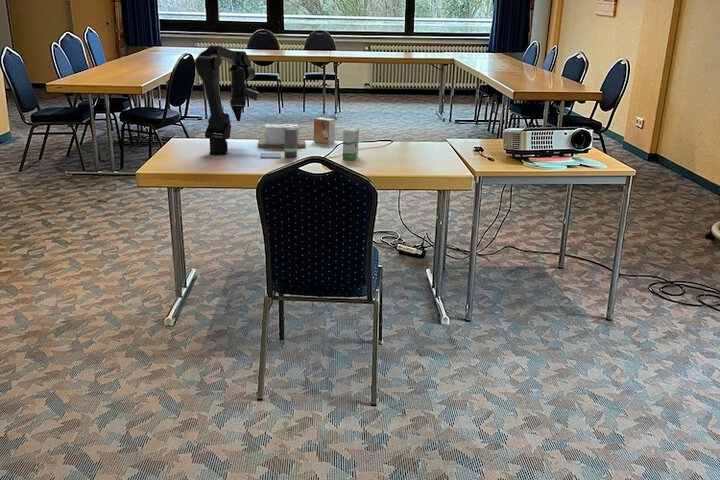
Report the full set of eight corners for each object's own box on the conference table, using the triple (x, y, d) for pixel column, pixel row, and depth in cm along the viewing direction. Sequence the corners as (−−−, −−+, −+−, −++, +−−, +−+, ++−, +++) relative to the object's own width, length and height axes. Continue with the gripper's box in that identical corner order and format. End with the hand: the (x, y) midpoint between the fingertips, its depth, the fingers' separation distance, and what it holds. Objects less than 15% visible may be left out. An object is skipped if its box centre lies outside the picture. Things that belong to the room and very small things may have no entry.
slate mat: (260, 158, 274) (260, 156, 274) (260, 154, 280) (260, 153, 280) (280, 158, 275) (280, 156, 275) (280, 154, 282) (280, 153, 281)
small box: (313, 142, 308) (313, 118, 305) (319, 140, 313) (320, 116, 310) (328, 144, 305) (329, 120, 302) (335, 142, 310) (335, 118, 306)
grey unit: (258, 147, 293) (258, 127, 290) (258, 142, 302) (258, 123, 300) (305, 147, 296) (305, 128, 293) (304, 143, 305) (304, 124, 302)
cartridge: (284, 157, 276) (284, 130, 272) (284, 155, 281) (284, 128, 277) (297, 157, 277) (297, 130, 273) (296, 155, 282) (296, 128, 278)
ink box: (354, 160, 276) (355, 131, 272) (342, 159, 277) (342, 130, 273) (358, 156, 284) (359, 127, 280) (346, 155, 285) (347, 126, 281)
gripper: (257, 84, 280) (258, 123, 285) (257, 79, 298) (258, 116, 303) (229, 84, 279) (230, 123, 284) (231, 79, 296) (232, 115, 301)
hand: (239, 119), depth 293 cm, fingers open, 9 cm apart
